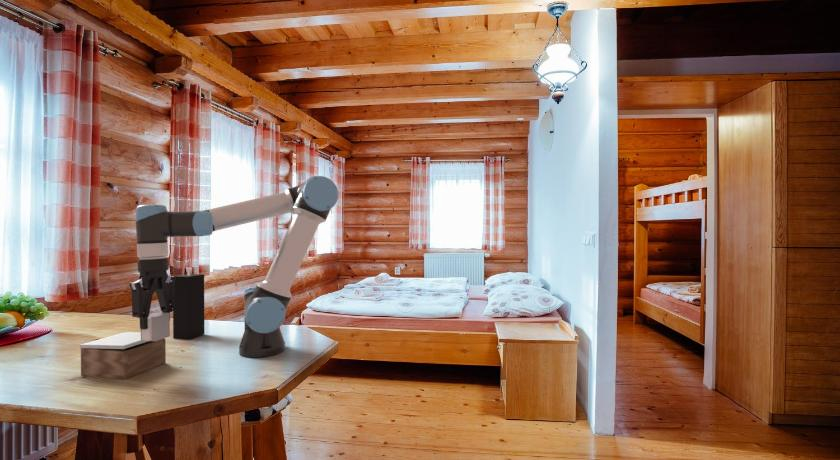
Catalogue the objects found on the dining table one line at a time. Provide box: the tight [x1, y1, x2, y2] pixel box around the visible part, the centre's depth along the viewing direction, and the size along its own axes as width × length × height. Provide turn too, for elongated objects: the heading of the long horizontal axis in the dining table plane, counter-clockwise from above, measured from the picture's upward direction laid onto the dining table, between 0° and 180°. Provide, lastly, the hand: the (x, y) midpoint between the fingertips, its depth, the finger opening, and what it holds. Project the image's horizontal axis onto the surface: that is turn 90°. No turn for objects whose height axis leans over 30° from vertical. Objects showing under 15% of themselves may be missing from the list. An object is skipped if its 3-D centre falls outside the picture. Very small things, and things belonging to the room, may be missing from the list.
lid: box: [79, 331, 148, 349], centre depth 123 cm, size 16×14×1 cm
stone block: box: [140, 311, 171, 341], centre depth 116 cm, size 5×5×7 cm
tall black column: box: [172, 266, 205, 340], centre depth 159 cm, size 8×8×28 cm
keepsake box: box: [80, 338, 167, 380], centre depth 123 cm, size 16×14×8 cm
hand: (156, 336), depth 116 cm, fingers closed on stone block, 5 cm apart
